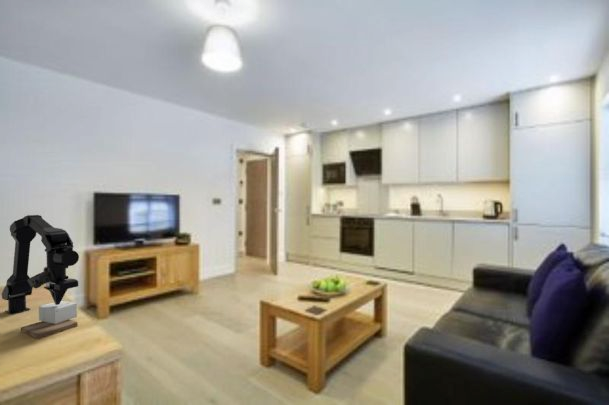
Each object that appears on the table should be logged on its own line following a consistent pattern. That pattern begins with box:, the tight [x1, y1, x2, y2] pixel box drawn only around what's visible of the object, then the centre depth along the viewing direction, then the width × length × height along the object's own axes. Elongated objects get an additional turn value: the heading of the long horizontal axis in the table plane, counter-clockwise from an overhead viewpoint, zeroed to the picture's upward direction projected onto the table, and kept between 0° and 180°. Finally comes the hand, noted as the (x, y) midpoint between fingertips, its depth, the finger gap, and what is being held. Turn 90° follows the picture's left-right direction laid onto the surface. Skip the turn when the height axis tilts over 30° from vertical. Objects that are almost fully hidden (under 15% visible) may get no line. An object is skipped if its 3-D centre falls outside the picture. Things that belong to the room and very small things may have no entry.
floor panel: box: [20, 319, 78, 340], centre depth 119 cm, size 14×12×2 cm
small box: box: [38, 300, 78, 324], centre depth 125 cm, size 8×6×10 cm
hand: (57, 304), depth 123 cm, fingers closed
